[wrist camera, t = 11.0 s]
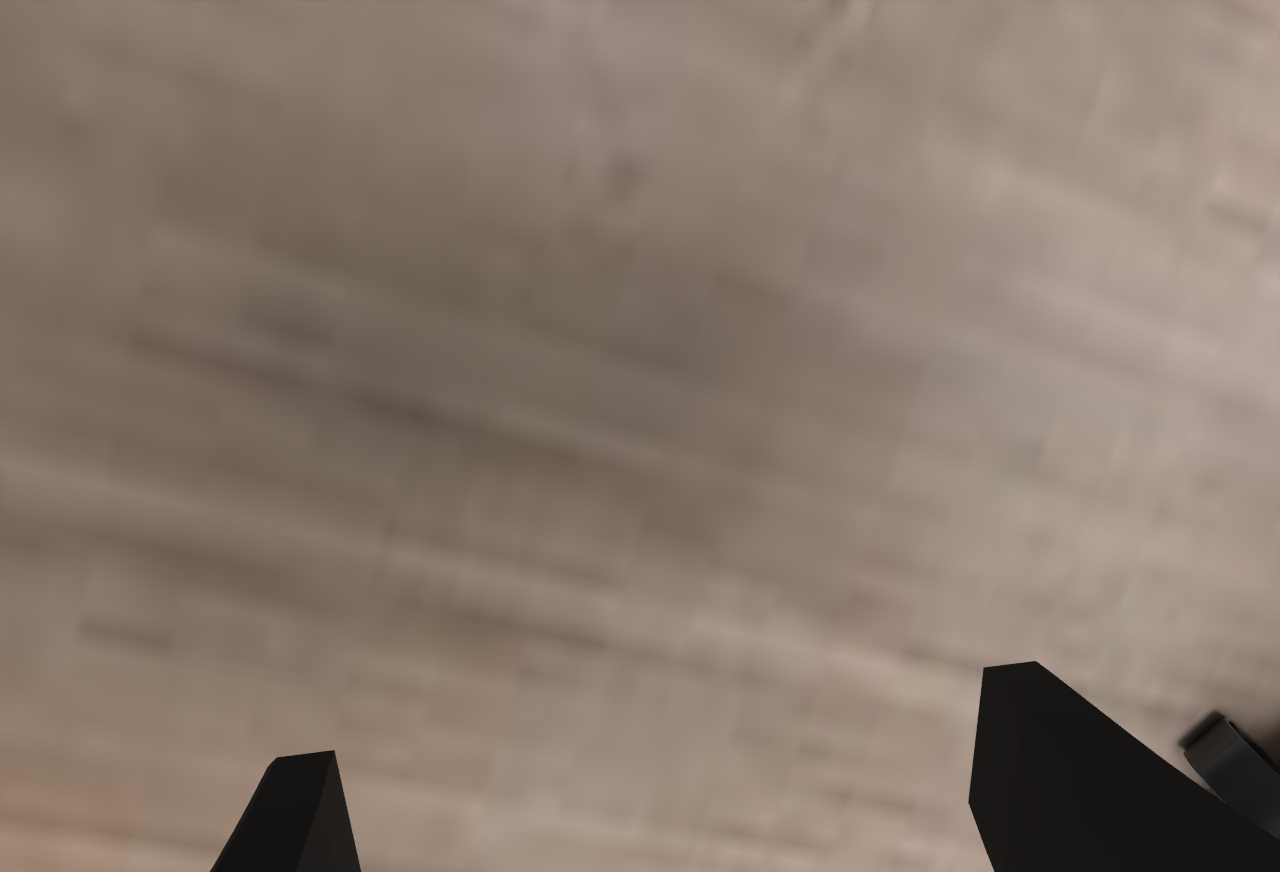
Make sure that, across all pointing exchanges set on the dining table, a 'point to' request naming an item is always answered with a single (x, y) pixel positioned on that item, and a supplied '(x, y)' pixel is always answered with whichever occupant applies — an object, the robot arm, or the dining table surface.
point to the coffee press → (1239, 773)
